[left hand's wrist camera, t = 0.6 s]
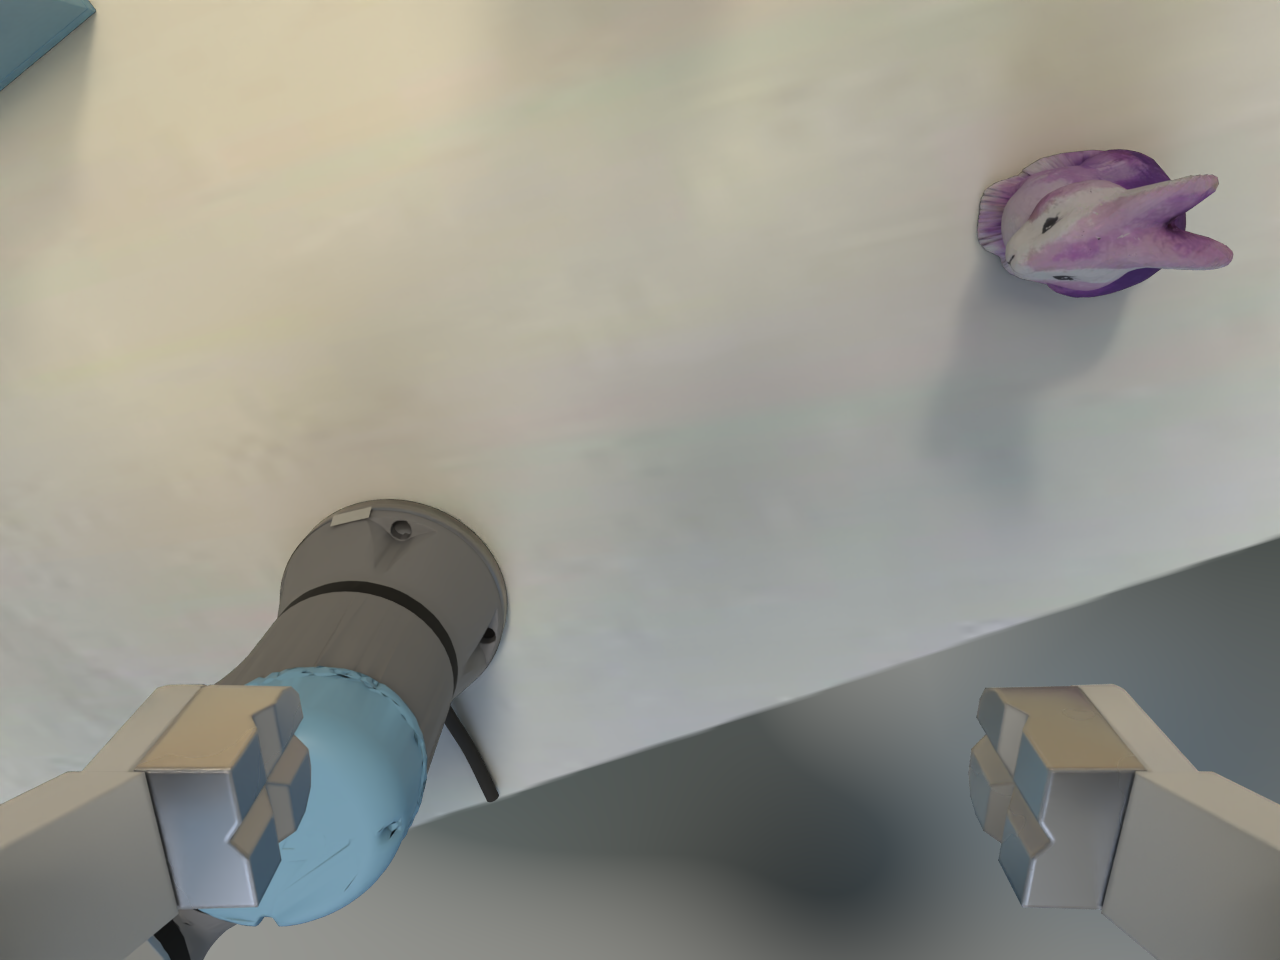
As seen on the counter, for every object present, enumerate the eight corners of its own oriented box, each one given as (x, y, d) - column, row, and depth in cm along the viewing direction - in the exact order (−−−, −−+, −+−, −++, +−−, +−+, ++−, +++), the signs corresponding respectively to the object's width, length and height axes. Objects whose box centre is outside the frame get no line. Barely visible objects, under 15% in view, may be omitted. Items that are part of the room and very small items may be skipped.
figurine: (933, 230, 53) (1038, 258, 39) (1073, 100, 51) (1239, 80, 37) (1026, 339, 56) (1157, 402, 42) (1164, 220, 53) (1353, 245, 39)
